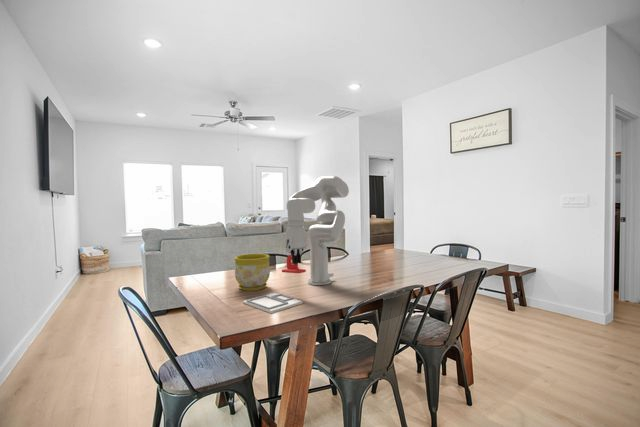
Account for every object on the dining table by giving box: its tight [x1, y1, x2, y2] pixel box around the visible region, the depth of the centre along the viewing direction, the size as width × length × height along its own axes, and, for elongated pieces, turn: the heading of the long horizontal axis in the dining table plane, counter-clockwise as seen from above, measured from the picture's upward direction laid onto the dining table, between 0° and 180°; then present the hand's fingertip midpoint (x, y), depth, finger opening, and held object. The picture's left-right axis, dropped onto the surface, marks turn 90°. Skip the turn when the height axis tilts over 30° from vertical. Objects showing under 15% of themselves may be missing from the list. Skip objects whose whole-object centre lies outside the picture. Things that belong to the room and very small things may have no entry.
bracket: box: [281, 254, 307, 274], centre depth 157 cm, size 12×4×8 cm, turn 46°
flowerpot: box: [233, 253, 271, 292], centre depth 173 cm, size 18×18×16 cm
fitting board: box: [242, 292, 303, 314], centre depth 146 cm, size 17×20×2 cm
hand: (296, 263), depth 158 cm, fingers closed on bracket, 1 cm apart
